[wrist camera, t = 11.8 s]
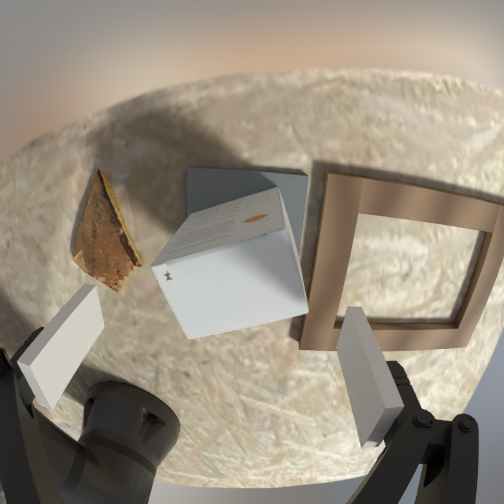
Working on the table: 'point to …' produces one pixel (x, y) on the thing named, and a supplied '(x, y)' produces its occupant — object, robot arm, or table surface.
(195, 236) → the small box
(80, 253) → the shard
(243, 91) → the table surface
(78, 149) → the table surface
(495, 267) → the wooden picture frame
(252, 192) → the pad
